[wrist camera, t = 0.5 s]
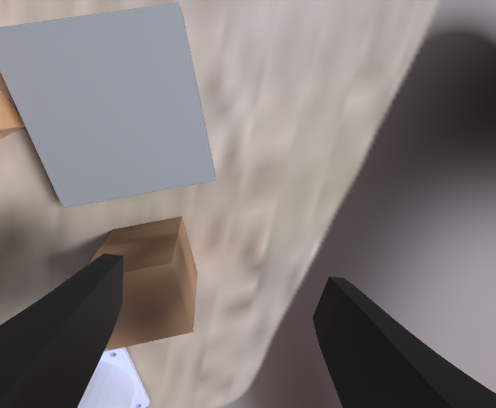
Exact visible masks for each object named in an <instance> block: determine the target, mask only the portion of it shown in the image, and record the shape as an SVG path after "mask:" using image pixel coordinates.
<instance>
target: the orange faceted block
mask: <svg viewBox="0 0 496 408" xmlns="http://www.w3.org/2000/svg"><path fill="white" fill-rule="evenodd" d="M23 127H25V124H24V122H23V120H22V118H21V116H20V115H19V113H18V112H17V111H16V109H15V108H14V107H13V106H12V104H11V103H10V102H9V100H8V99H7V98H6V96H5V95H4V94H3V92H2V91H1V90H0V139H1V138H3V137H5V136H7V135H9V134H11V133H13V132H15V131H17V130H19V129H21V128H23Z"/></svg>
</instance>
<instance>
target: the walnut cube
mask: <svg viewBox="0 0 496 408" xmlns="http://www.w3.org/2000/svg"><path fill="white" fill-rule="evenodd" d="M102 254H113V255H123V256H124V257H123V301H122V306H121V309H120V312H119V315H118V318H117V321H116V324H115V327H114V330H113V333H112V335H111V337H110V340H109V342H108V344H107V346H106V347H107V349H108V351H109V350H113V349H118V348H122V347H127V346H131V345H136V344H140V343H145V342H149V341H154V340H158V339H163V338H168V337H172V336H177V335H181V334H186V333H190V332H193V326H194V312H195V297H196V282H197V270H196V266H195V262H194V259H193V255H192V251H191V248H190V244H189V240H188V237H187V233H186V229H185V226H184V222H183V218H182V217H177V218H172V219H166V220H161V221H156V222H151V223H146V224H140V225H135V226H130V227H125V228H119V229H114V230H112V231H111V233H110V234H109V236H108V237H107V238H106V240H105V241H104V243H103V244H102V245H101V247H100V248H99V249H98V251H97V252H96V254H95V255H94V256H93V258H92V259H91V261H90V262H89V263H88V264H90V263H91V262H92V261H94V260H95V259H96V258H98V257H99V256H101V255H102Z"/></svg>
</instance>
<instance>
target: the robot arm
mask: <svg viewBox="0 0 496 408" xmlns="http://www.w3.org/2000/svg"><path fill="white" fill-rule="evenodd" d="M123 257H124V256H123V255H113V254H102V255H101V256H99V257H98V258H96V259H95V260H94V261H92V262H91V263H90V264H88V265H87V266H86V267H84V268H83V269H82V270H80V271H79V272H78V273H76V274H75V275H74V276H72V277H71V278H69V279H68V280H67V281H65V282H64V283H63V284H61V285H60V286H58V287H57V288H55V289H54V290H53V291H51V292H50V293H48V294H47V295H46V296H44V297H43V298H41V299H40V300H38V301H37V302H35V303H34V304H32V305H31V306H29V307H28V308H26V309H25V310H23V311H22V312H20V313H19V314H17V315H15V316H14V317H12V318H11V319H9V320H8V321H6V322H5V323H3V324H2V325H0V408H145V407H147V406H148V405H149V402H150V400H149V397H148V395H147V393H146V391H145V389H144V387H143V384H142V382H141V380H140V378H139V376H138V374H137V371H136V369H135V367H134V365H133V363H132V361H131V358H130V356H129V354H128V352H127V350H126V348H125V347H122V348H118V349H113V350H109V351H108V349H107V348H106V346H107V344H108V342H109V340H110V337H111V335H112V333H113V330H114V327H115V324H116V321H117V318H118V315H119V312H120V309H121V306H122V301H123ZM313 321H314V325H315V329H316V334H317V338H318V342H319V345H320V348H321V351H322V354H323V357H324V359H325V362H326V365H327V367H328V370H329V373H330V375H331V378H332V381H333V383H334V386H335V388H336V391H337V394H338V396H339V399H340V402H341V404H342V407H343V408H496V394H495V393H494V392H492V391H491V390H489V389H488V388H486V387H485V386H483V385H482V384H480V383H479V382H477V381H476V380H474V379H473V378H471V377H470V376H468V375H467V374H465V373H464V372H463V371H461V370H459V369H458V368H457V367H455V366H454V365H453V364H451V363H450V362H448V361H447V360H445V359H444V358H443V357H441V356H440V355H438V354H437V353H436V352H435V351H433V350H432V349H431V348H429V347H428V346H427V345H426V344H424V343H423V342H422V341H420V340H419V339H418V338H416V337H415V336H414V335H412V334H411V333H410V332H409V331H408V330H406V329H405V328H404V327H403V326H402V325H400V324H399V323H398V322H397V321H395V320H394V319H393V318H392V317H391V316H390V315H388V314H387V313H386V312H385V311H384V310H382V309H381V308H380V307H379V306H378V305H376V304H375V303H374V302H373V301H372V300H371V299H369V298H368V297H367V296H366V295H365V294H363V293H362V292H361V291H360V290H359V289H358V288H356V287H355V286H354V285H353V284H351V283H350V282H349V281H347V280H346V279H345V278H337V277H329V278H328V281H327V283H326V286H325V288H324V291H323V294H322V296H321V298H320V301H319V304H318V306H317V308H316V311H315V313H314V316H313ZM113 352H114V353H113Z"/></svg>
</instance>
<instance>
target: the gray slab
mask: <svg viewBox="0 0 496 408" xmlns="http://www.w3.org/2000/svg"><path fill="white" fill-rule="evenodd" d="M0 72H1V74H2V76H3V79H4V81H5V83H6V85H7V87H8V90H9V92H10V94H11V96H12V98H13V100H14V103H15V105H16V107H17V109H18V111H19V113H20V116H21V118H22V120H23V122H24V124H25V126H26V129H27V131H28V133H29V135H30V137H31V139H32V142H33V144H34V146H35V148H36V150H37V153H38V155H39V157H40V159H41V161H42V163H43V166H44V168H45V170H46V172H47V174H48V176H49V179H50V181H51V183H52V185H53V187H54V189H55V192H56V194H57V196H58V198H59V200H60V203H61V205H62V207H63V209H64V208H70V207H75V206H81V205H86V204H91V203H97V202H102V201H108V200H113V199H118V198H124V197H129V196H135V195H140V194H145V193H151V192H156V191H162V190H167V189H172V188H178V187H183V186H189V185H194V184H199V183H205V182H210V181H215V169H214V164H213V159H212V155H211V150H210V145H209V140H208V135H207V130H206V125H205V120H204V116H203V111H202V106H201V101H200V96H199V91H198V86H197V81H196V76H195V72H194V67H193V62H192V57H191V52H190V47H189V42H188V37H187V33H186V28H185V23H184V18H183V15H182V11H181V8H180V5H179V2H178V3H171V4H164V5H157V6H150V7H142V8H135V9H128V10H121V11H114V12H106V13H99V14H92V15H85V16H78V17H70V18H63V19H56V20H49V21H42V22H34V23H27V24H20V25H13V26H6V27H0Z"/></svg>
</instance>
